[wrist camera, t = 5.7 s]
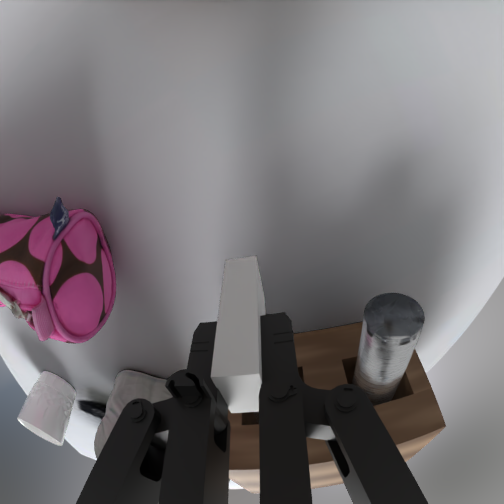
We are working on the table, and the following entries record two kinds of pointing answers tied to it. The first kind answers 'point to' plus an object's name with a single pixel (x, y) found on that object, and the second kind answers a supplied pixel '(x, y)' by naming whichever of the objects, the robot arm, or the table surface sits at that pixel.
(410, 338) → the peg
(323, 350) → the walnut block
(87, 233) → the pencil case
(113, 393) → the teapot
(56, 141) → the table surface
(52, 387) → the white cup
